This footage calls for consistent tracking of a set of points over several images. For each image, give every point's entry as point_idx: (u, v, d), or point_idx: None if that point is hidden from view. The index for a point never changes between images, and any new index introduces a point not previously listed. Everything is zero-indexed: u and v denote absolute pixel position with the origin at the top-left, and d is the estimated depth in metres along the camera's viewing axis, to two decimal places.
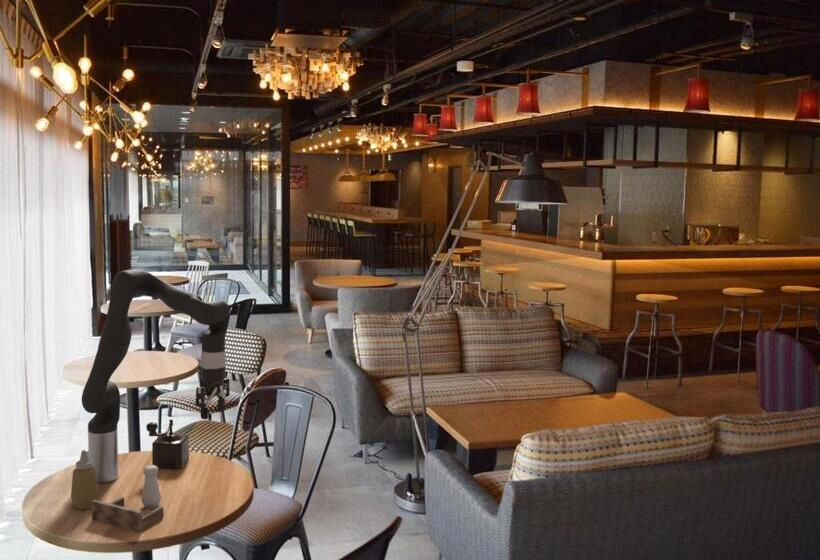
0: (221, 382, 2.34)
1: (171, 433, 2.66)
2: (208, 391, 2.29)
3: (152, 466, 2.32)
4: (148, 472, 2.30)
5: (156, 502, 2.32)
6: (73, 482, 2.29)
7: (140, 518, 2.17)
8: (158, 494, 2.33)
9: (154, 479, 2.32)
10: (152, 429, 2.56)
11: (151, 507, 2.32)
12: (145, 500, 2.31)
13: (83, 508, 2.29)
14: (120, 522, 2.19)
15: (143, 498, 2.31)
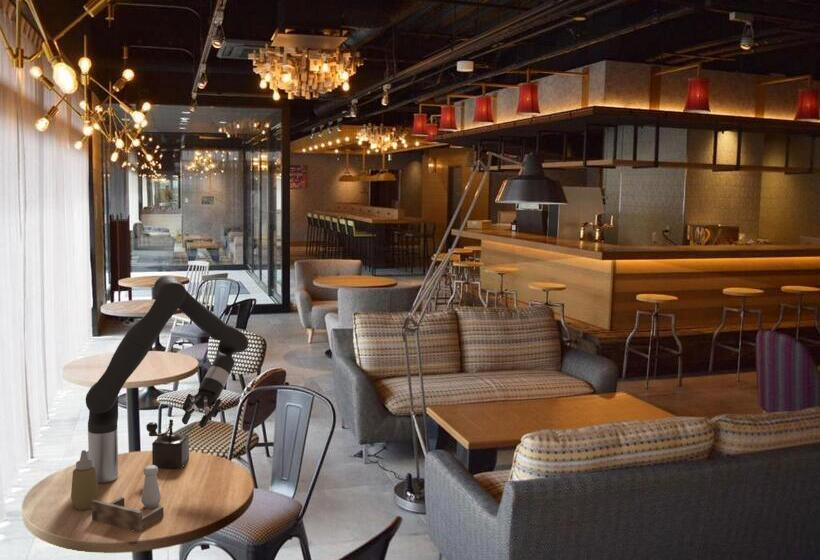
0: None
1: (171, 433, 2.66)
2: None
3: (152, 466, 2.32)
4: (148, 472, 2.30)
5: (156, 502, 2.32)
6: (73, 482, 2.29)
7: (140, 518, 2.17)
8: (158, 494, 2.33)
9: (154, 479, 2.32)
10: (152, 429, 2.56)
11: (151, 507, 2.32)
12: (145, 500, 2.31)
13: (83, 508, 2.29)
14: (120, 522, 2.19)
15: (143, 498, 2.31)
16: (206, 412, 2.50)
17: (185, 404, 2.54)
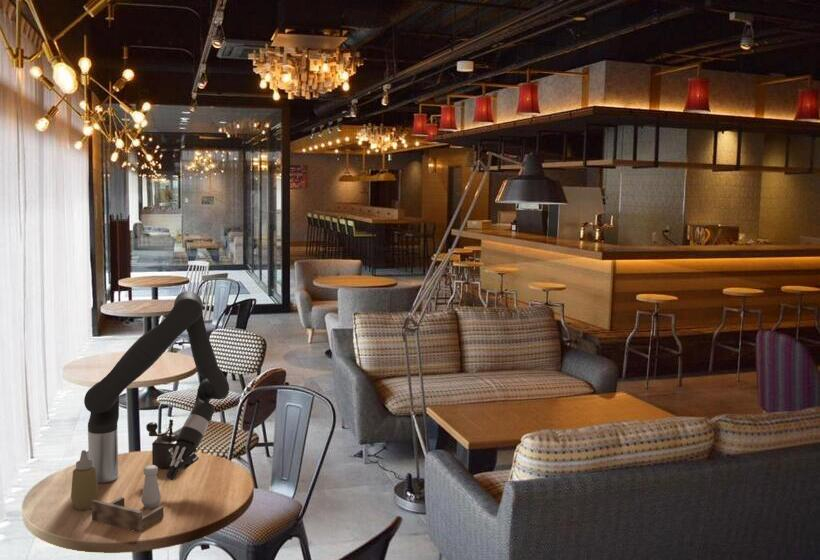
0: None
1: (171, 433, 2.66)
2: None
3: (152, 466, 2.32)
4: (148, 472, 2.30)
5: (156, 502, 2.32)
6: (73, 482, 2.29)
7: (140, 518, 2.17)
8: (158, 494, 2.33)
9: (154, 479, 2.32)
10: (152, 429, 2.56)
11: (151, 507, 2.32)
12: (145, 500, 2.31)
13: (83, 508, 2.29)
14: (120, 522, 2.19)
15: (143, 498, 2.31)
16: (176, 464, 2.42)
17: (168, 458, 2.44)
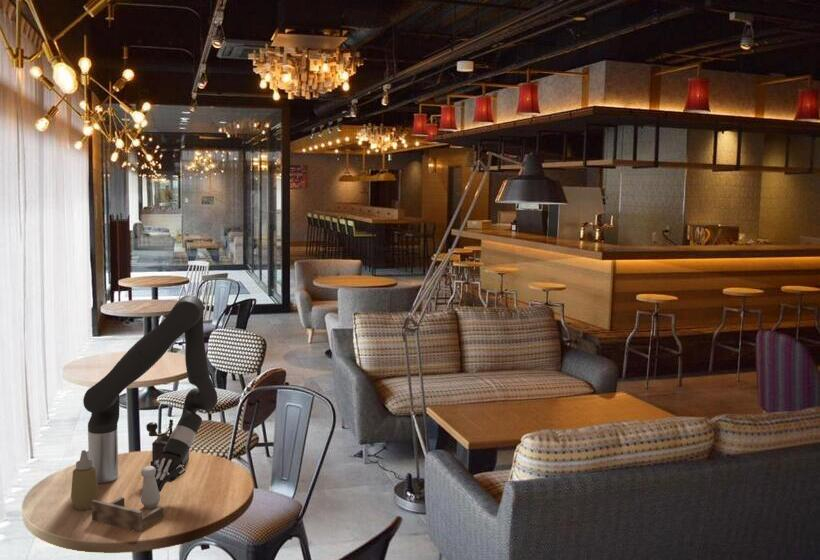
0: None
1: (171, 433, 2.66)
2: None
3: (150, 467, 2.31)
4: (146, 474, 2.29)
5: (156, 502, 2.32)
6: (73, 482, 2.29)
7: (140, 518, 2.17)
8: (157, 494, 2.32)
9: (152, 480, 2.31)
10: (152, 429, 2.56)
11: (151, 507, 2.32)
12: (144, 501, 2.31)
13: (83, 508, 2.29)
14: (120, 522, 2.19)
15: (142, 499, 2.31)
16: (161, 477, 2.36)
17: None
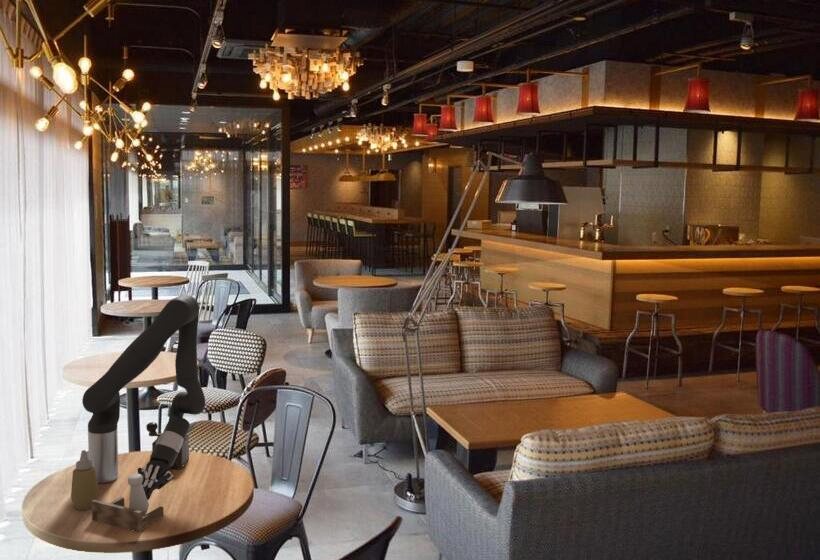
0: None
1: None
2: None
3: (136, 475, 2.24)
4: (132, 482, 2.23)
5: (144, 510, 2.26)
6: (73, 482, 2.29)
7: (140, 518, 2.17)
8: (145, 502, 2.26)
9: (139, 488, 2.25)
10: (152, 429, 2.56)
11: None
12: None
13: (83, 508, 2.29)
14: (120, 522, 2.19)
15: None
16: (149, 484, 2.30)
17: None
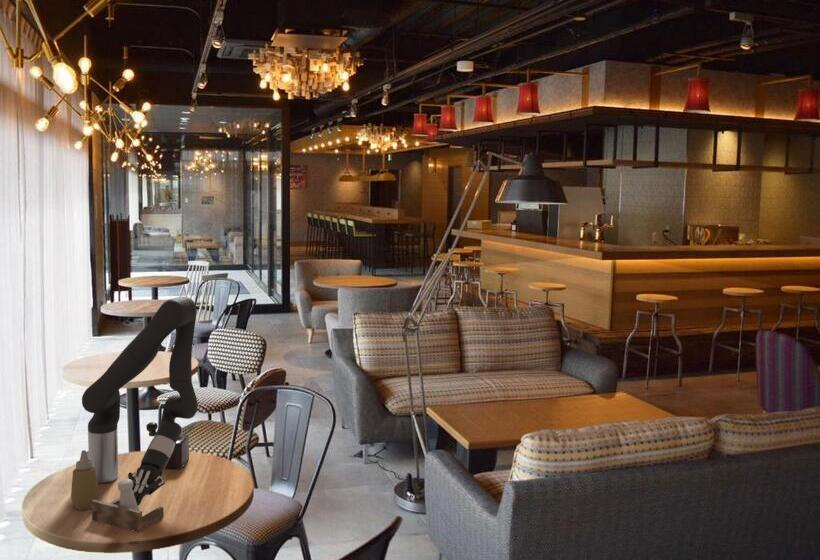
0: None
1: None
2: None
3: (126, 480, 2.21)
4: (122, 488, 2.19)
5: None
6: (73, 482, 2.29)
7: (140, 518, 2.17)
8: (136, 508, 2.22)
9: (130, 494, 2.21)
10: (152, 429, 2.56)
11: None
12: None
13: (83, 508, 2.29)
14: (120, 522, 2.19)
15: None
16: (140, 489, 2.26)
17: None
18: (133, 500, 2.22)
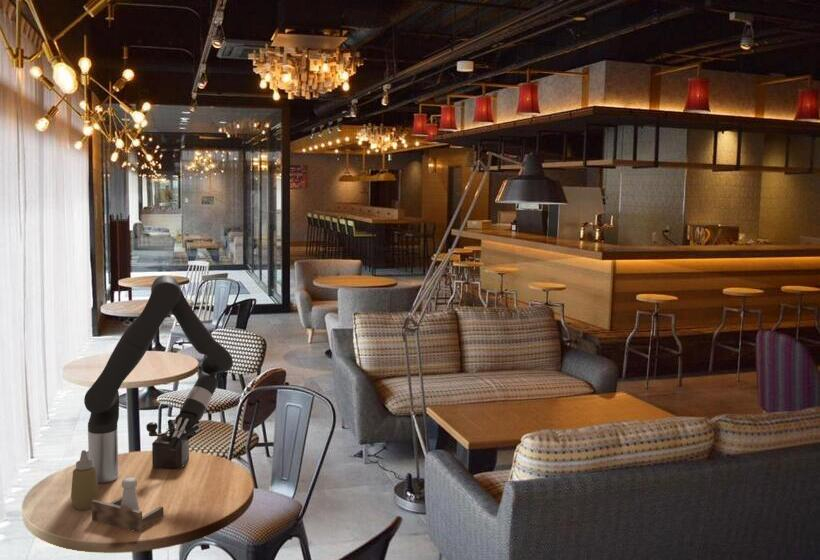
0: None
1: None
2: None
3: (131, 478, 2.22)
4: (127, 485, 2.20)
5: None
6: (73, 482, 2.29)
7: (140, 518, 2.17)
8: (137, 508, 2.23)
9: (133, 492, 2.22)
10: (152, 429, 2.56)
11: None
12: None
13: (83, 508, 2.29)
14: (120, 522, 2.19)
15: None
16: (178, 435, 2.42)
17: (171, 429, 2.45)
18: (135, 499, 2.23)
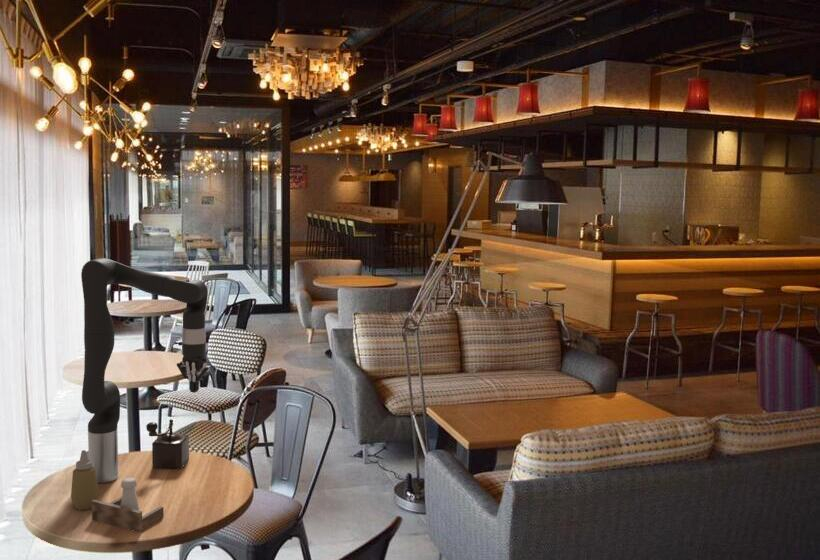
0: None
1: (171, 433, 2.66)
2: None
3: (130, 479, 2.22)
4: (126, 485, 2.20)
5: None
6: (73, 482, 2.29)
7: (140, 518, 2.17)
8: (137, 508, 2.23)
9: (132, 492, 2.22)
10: (152, 429, 2.56)
11: None
12: None
13: (83, 508, 2.29)
14: (120, 522, 2.19)
15: None
16: (193, 379, 2.46)
17: (183, 373, 2.47)
18: (135, 499, 2.23)
